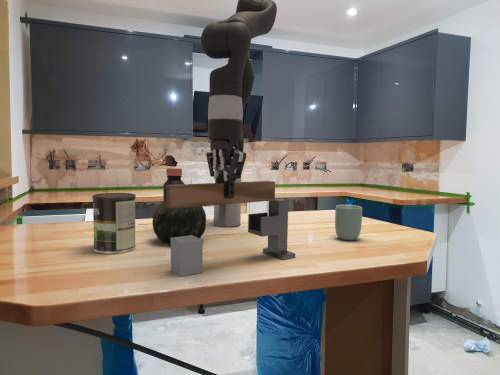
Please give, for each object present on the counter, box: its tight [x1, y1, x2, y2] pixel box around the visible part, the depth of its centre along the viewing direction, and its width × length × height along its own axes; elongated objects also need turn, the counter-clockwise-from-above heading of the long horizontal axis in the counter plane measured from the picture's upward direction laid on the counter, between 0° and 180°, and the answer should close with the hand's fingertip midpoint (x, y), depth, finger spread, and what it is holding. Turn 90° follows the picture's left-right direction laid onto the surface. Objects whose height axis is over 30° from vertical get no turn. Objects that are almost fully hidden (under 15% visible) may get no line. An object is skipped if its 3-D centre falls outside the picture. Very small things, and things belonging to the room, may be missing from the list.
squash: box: [152, 200, 207, 243], centre depth 104 cm, size 14×15×15 cm
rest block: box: [170, 235, 204, 277], centre depth 77 cm, size 5×5×7 cm
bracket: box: [247, 197, 296, 261], centre depth 89 cm, size 8×10×14 cm
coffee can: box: [92, 192, 137, 255], centre depth 94 cm, size 10×10×14 cm
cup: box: [334, 204, 363, 241], centre depth 110 cm, size 8×8×10 cm
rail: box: [166, 180, 276, 209], centre depth 81 cm, size 3×26×4 cm, turn 125°
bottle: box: [162, 167, 185, 202], centre depth 117 cm, size 7×7×20 cm
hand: (224, 197), depth 81 cm, fingers closed on rail, 3 cm apart
